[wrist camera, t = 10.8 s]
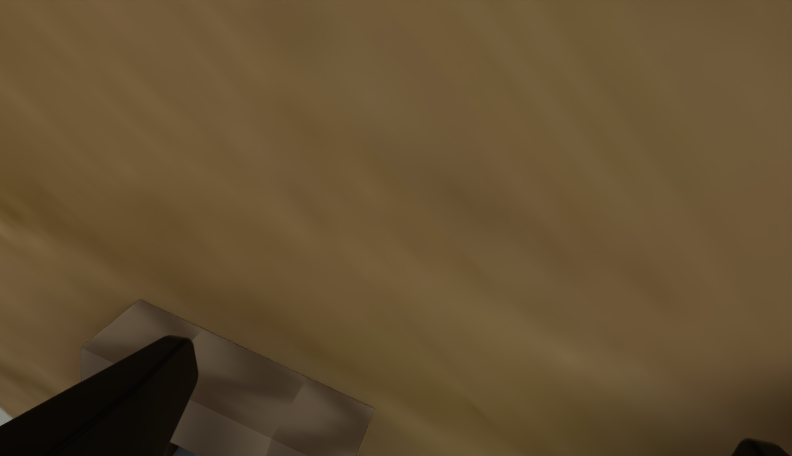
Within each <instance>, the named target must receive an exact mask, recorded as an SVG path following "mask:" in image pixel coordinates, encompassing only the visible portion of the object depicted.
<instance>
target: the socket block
mask: <svg viewBox="0 0 792 456" xmlns="http://www.w3.org/2000/svg"><path fill="white" fill-rule="evenodd" d="M167 335H176V336H181V337H187V338H189V339H191V340H192V342H193V344H194V349H195V355H196V360H197V365H198V372H199V375H198V381H197V384H196V387H195V389H194V391H193V393H192V395H191V398H190V400H189V402H188V404H187V406H186V408H185V411H184V413H183V415H182V417H181V419H180V421H179V424H178V426H177V428H176V430H175V432H174V434H173V437H172V439H171V441H170V443H169V445H168V447H167V450H166V452H165V454H164V456H172V455H173V454H174V453H175V451H176V450H177V449H178V447H179V446H180V447H182V448H184V449H186V450H188V451H190V452H192V453H194V454H196V455H198V456H356V455H357V452H358V450H359V447H360V444H361V442H362V439H363V437H364V434H365V432H366V429H367V427H368V424H369V422H370V419H371V417H372V414H373V412H374V408H372V407H369V406H367V405H365V404H363V403H361V402H359V401H356V400H354V399H352V398H350V397H348V396H346V395H344V394H341V393H339V392H337V391H335V390H333V389H331V388H329V387H326V386H324V385H322V384H320V383H318V382H316V381H314V380H311V379H309V378H307V377H305V376H303V375H301V374H299V373H296V372H294V371H292V370H290V369H288V368H286V367H284V366H281V365H279V364H277V363H275V362H273V361H271V360H269V359H266V358H264V357H262V356H260V355H258V354H256V353H254V352H251V351H249V350H247V349H245V348H243V347H241V346H239V345H236V344H234V343H232V342H230V341H228V340H226V339H223V338H221V337H219V336H217V335H215V334H213V333H211V332H208V331H206V330H204V329H202V328H200V327H198V326H196V325H193V324H191V323H189V322H187V321H185V320H183V319H181V318H178V317H176V316H174V315H172V314H170V313H168V312H166V311H163V310H161V309H159V308H157V307H155V306H153V305H151V304H148V303H146V302H144V301H142V300H140V299H139V300H138V301H137V302H136V303H135V304H133V305H132V306H131V307H130V308H128V309H127V310H126V311H125V312H123V313H122V314H121V315H120V316H119V317H117V318H116V319H115V320H114V321H112V322H111V323H110V324H109V325H108V326H106V327H105V328H104V329H103V330H101V331H100V332H99V333H98V334H96V335H95V336H94V337H93V338H92V339H90V340H89V341H88V342H87V343H85V344H84V345H83V346H82V347H81V382H82V381H83V380H85V379H87V378H89V377H91V376H92V375H94V374H96V373H98V372H100V371H102V370H103V369H105V368H107V367H109V366H111V365H113V364H114V363H116V362H118V361H120V360H122V359H124V358H125V357H127V356H129V355H131V354H133V353H134V352H136V351H138V350H140V349H142V348H144V347H145V346H147V345H149V344H151V343H153V342H155V341H156V340H158V339H160V338H162V337H164V336H167Z"/></svg>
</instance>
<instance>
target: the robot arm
mask: <svg viewBox="0 0 792 456" xmlns="http://www.w3.org/2000/svg"><path fill="white" fill-rule="evenodd" d="M198 375H199V372H198V365H197V360H196V355H195V349H194V344H193V342H192V340H191V339H189V338H187V337H181V336H176V335H167V336H164V337H162V338H160V339H158V340H156V341H155V342H153V343H151V344H149V345H147V346H145V347H144V348H142V349H140V350H138V351H136V352H134V353H133V354H131V355H129V356H127V357H125V358H124V359H122V360H120V361H118V362H116V363H114V364H113V365H111V366H109V367H107V368H105V369H103V370H102V371H100V372H98V373H96V374H94V375H92V376H91V377H89V378H87V379H85V380H83V381H82V382H80V383H78V384H76V385H74V386H72V387H71V388H69V389H67V390H65V391H63V392H61V393H60V394H58V395H56V396H54V397H52V398H51V399H49V400H47V401H45V402H43V403H41V404H40V405H38V406H36V407H34V408H32V409H30V410H29V411H27V412H25V413H23V414H21V415H20V416H18V417H16V418H14V419H12V420H10V421H9V422H7V423H5V424H3V425H1V426H0V456H164V454H165V452H166V450H167V447H168V445H169V443H170V441H171V439H172V437H173V434H174V432H175V430H176V428H177V426H178V424H179V421H180V419H181V417H182V415H183V413H184V411H185V408H186V406H187V404H188V402H189V400H190V398H191V395H192V393H193V391H194V389H195V387H196V384H197V381H198ZM732 456H790V455H789V454H788V453H786V452H785V451H784V450H783V449H782V448H781V447H779V446H778V445H776V444H774V443H772V442H767V441H762V440H756V439H751V438H746V439H744V440H742V441H741V442H740V443H739V444H738V446H737V448H736V449H735V451H734V452H733V454H732Z"/></svg>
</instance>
